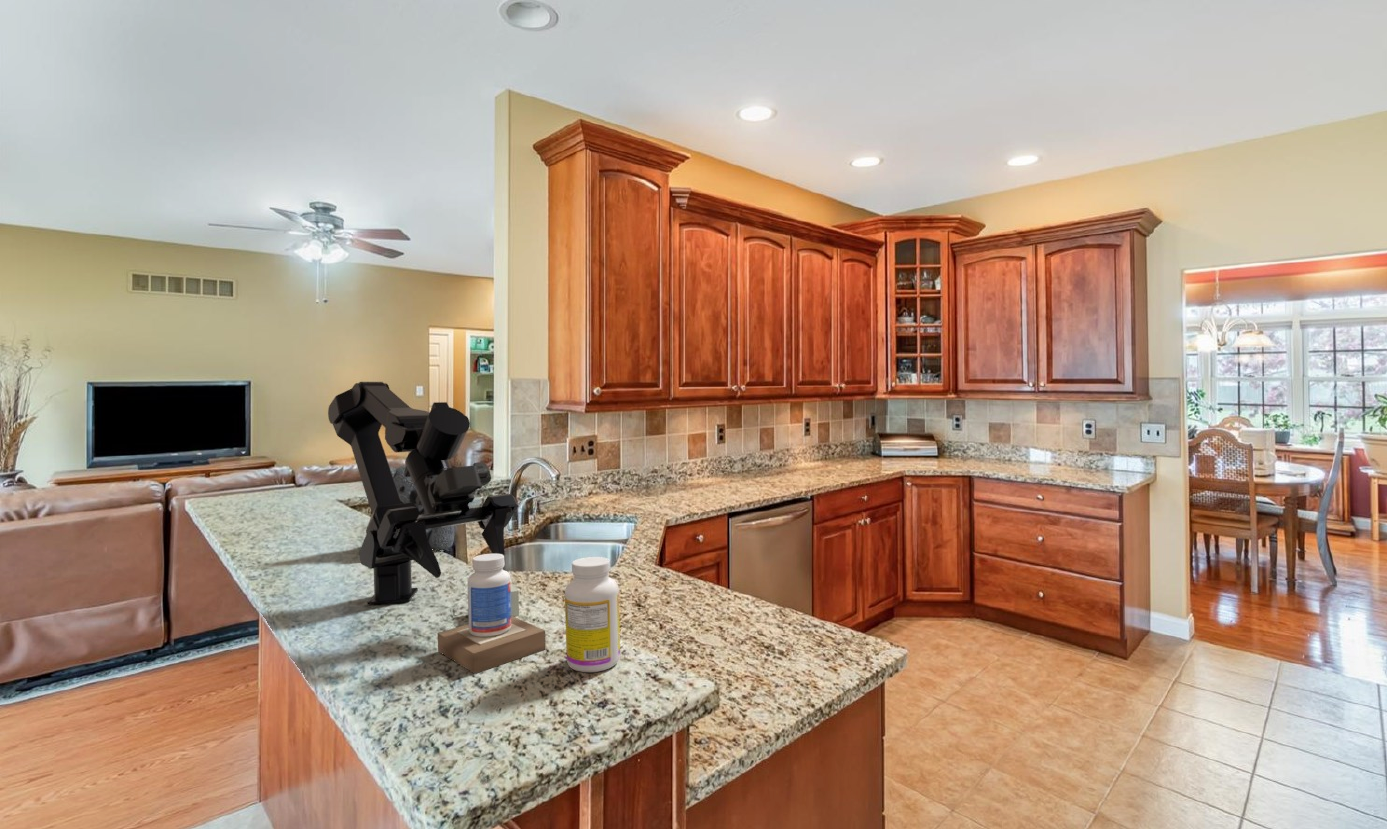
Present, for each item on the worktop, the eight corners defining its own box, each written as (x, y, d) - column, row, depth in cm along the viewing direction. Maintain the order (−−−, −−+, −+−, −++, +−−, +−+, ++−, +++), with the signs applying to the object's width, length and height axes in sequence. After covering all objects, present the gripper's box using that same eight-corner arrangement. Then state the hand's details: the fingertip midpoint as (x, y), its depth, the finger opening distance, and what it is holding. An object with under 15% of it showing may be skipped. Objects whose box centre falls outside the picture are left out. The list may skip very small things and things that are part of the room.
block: (479, 612, 99) (478, 587, 99) (511, 607, 102) (511, 582, 102) (485, 622, 95) (484, 596, 95) (519, 616, 97) (518, 590, 97)
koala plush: (372, 562, 131) (369, 468, 131) (359, 546, 146) (356, 461, 145) (458, 549, 141) (456, 461, 141) (438, 535, 156) (435, 456, 155)
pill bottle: (518, 630, 84) (517, 557, 83) (478, 641, 80) (476, 564, 80) (501, 620, 88) (499, 549, 87) (462, 629, 84) (460, 556, 84)
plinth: (438, 651, 84) (437, 631, 84) (506, 630, 91) (506, 612, 91) (474, 674, 77) (473, 652, 77) (545, 649, 84) (545, 629, 84)
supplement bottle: (590, 648, 84) (588, 552, 84) (630, 658, 81) (628, 558, 80) (554, 667, 78) (552, 564, 78) (596, 679, 75) (594, 571, 75)
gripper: (383, 449, 83) (420, 547, 76) (510, 440, 97) (552, 523, 90) (362, 501, 89) (395, 597, 82) (486, 486, 103) (523, 567, 95)
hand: (471, 568), depth 87 cm, fingers open, 9 cm apart
